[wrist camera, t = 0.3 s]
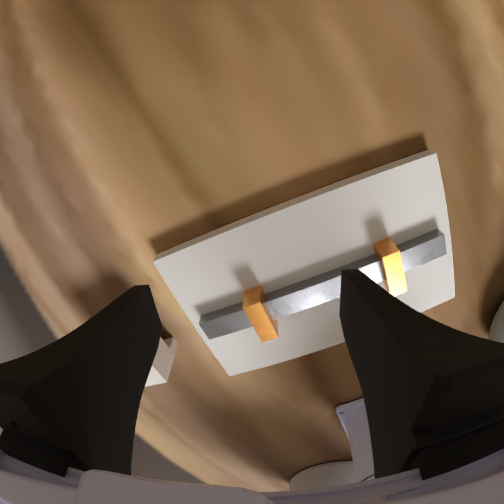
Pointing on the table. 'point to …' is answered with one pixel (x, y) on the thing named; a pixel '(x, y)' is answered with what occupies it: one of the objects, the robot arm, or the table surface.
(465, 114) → the table surface
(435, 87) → the table surface
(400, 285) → the din rail
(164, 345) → the block
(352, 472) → the cylinder vase
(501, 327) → the air freshener
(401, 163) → the rail board
